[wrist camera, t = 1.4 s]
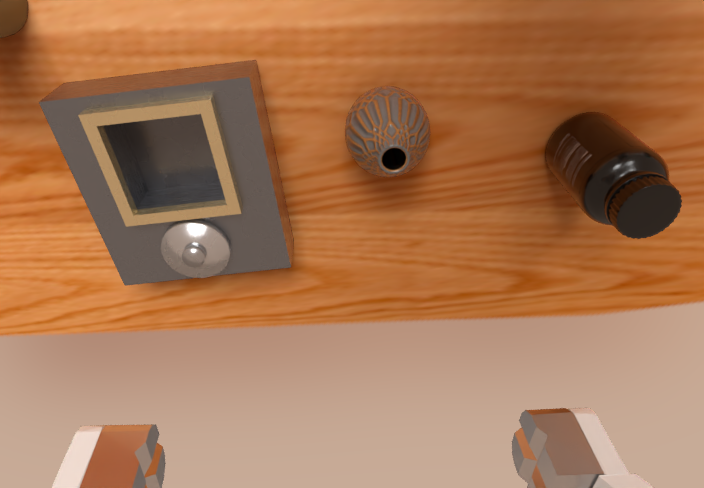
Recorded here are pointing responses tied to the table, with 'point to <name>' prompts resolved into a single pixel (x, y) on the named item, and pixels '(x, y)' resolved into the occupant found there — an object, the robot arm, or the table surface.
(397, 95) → the vase
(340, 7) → the table surface
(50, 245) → the table surface
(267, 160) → the grey rectangular box
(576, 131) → the supplement bottle
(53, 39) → the table surface
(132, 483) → the robot arm
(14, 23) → the cork
